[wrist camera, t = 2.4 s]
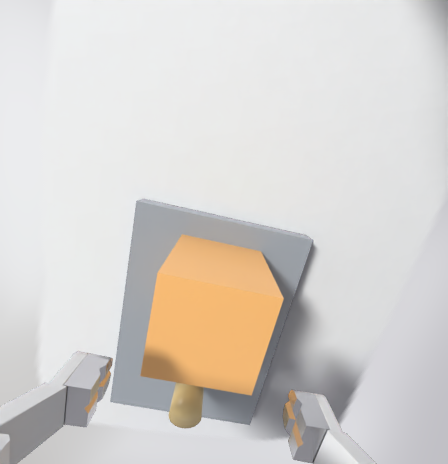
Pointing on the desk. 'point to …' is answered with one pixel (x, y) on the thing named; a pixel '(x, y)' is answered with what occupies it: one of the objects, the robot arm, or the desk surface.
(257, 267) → the amber rectangular brick
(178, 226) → the plate
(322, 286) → the desk surface
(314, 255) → the desk surface
